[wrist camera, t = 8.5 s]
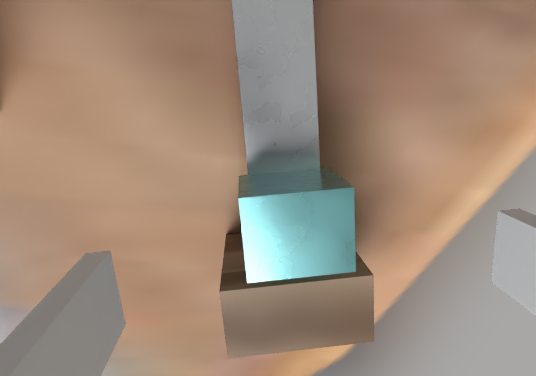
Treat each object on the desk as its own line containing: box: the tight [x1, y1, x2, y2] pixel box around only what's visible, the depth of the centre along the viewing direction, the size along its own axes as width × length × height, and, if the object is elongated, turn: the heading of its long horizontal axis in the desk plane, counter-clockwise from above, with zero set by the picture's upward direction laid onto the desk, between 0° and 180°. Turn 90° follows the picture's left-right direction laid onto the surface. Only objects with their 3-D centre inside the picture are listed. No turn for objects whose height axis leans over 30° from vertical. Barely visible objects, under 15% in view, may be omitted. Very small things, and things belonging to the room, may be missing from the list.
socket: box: [220, 233, 374, 358], centre depth 23 cm, size 4×8×8 cm, turn 95°
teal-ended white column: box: [232, 0, 356, 283], centre depth 19 cm, size 19×5×9 cm, turn 5°
